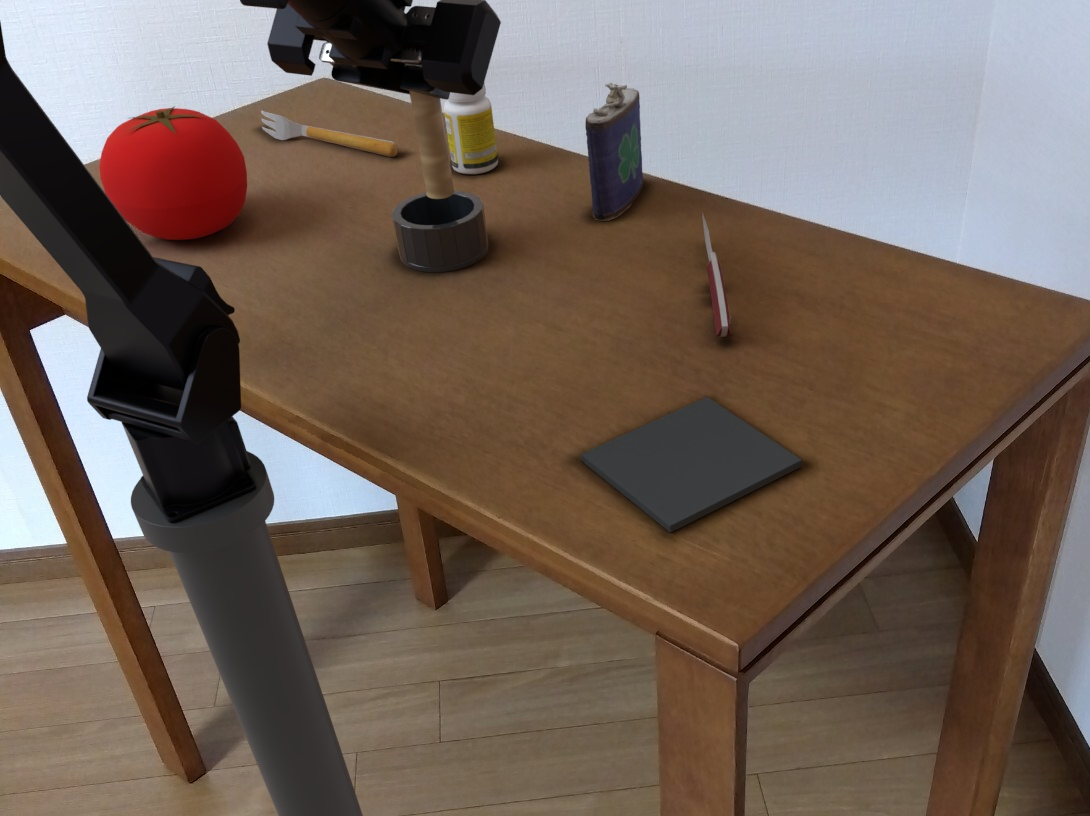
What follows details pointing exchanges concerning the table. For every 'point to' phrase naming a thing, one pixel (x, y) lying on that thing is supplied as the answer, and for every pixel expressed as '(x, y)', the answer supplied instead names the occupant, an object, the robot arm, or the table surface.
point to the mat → (690, 463)
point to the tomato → (174, 174)
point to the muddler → (432, 145)
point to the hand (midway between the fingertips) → (434, 91)
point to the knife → (717, 290)
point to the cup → (440, 231)
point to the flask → (615, 152)
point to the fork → (326, 135)
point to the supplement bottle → (471, 132)
